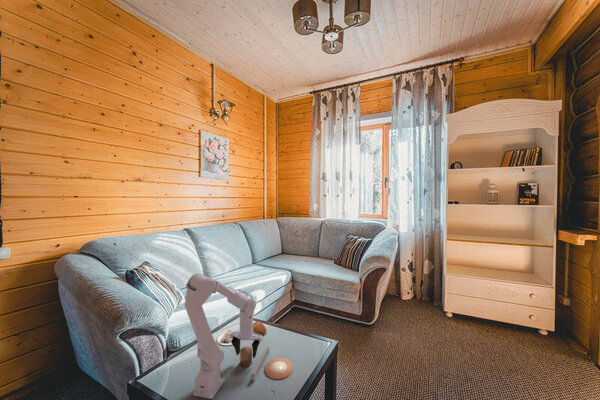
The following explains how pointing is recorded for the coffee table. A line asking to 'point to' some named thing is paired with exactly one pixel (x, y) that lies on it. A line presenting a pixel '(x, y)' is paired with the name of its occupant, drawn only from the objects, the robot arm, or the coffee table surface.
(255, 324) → the pastry
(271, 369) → the resting plate
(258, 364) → the acrylic wall
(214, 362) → the robot arm
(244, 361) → the walnut cylinder
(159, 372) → the coffee table surface
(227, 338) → the candle holder
